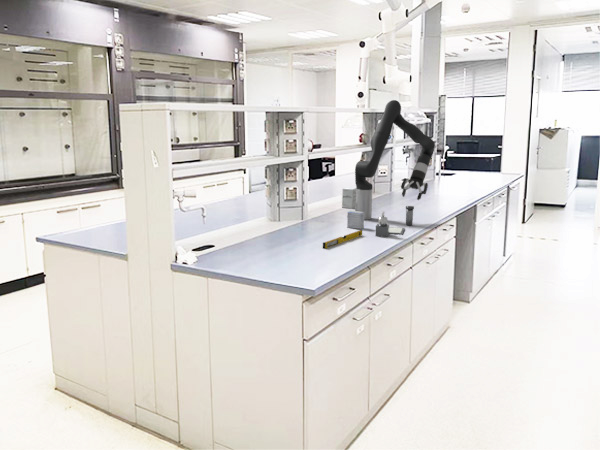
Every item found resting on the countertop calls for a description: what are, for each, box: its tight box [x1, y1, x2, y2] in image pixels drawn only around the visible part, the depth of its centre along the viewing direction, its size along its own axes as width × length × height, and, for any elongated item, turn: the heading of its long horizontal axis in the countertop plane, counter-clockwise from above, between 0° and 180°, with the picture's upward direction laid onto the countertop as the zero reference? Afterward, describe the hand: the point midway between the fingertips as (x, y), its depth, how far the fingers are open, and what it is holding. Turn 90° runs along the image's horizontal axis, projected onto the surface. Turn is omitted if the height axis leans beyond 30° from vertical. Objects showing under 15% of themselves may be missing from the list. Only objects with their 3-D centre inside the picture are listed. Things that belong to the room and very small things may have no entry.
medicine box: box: [346, 210, 365, 230], centre depth 281 cm, size 8×4×9 cm, turn 59°
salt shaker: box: [405, 205, 415, 227], centre depth 288 cm, size 4×4×10 cm
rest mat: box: [389, 226, 406, 235], centre depth 274 cm, size 11×14×1 cm
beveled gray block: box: [374, 211, 390, 238], centre depth 263 cm, size 6×6×12 cm
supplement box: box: [341, 187, 356, 209], centre depth 343 cm, size 7×7×13 cm
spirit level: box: [322, 229, 363, 249], centre depth 250 cm, size 33×1×3 cm, turn 144°
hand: (410, 197), depth 296 cm, fingers open, 8 cm apart
